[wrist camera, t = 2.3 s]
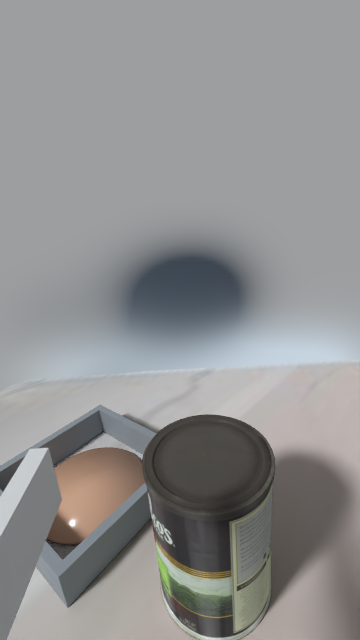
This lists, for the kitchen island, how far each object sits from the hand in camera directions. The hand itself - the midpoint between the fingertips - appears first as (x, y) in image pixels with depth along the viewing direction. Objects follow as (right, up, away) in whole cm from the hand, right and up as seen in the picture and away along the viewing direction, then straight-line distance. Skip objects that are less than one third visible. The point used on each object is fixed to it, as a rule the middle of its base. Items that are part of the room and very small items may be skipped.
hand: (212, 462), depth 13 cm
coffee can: (+2, -18, +17) cm, 25 cm away
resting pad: (-12, -16, +27) cm, 34 cm away
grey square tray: (-12, -16, +27) cm, 34 cm away
